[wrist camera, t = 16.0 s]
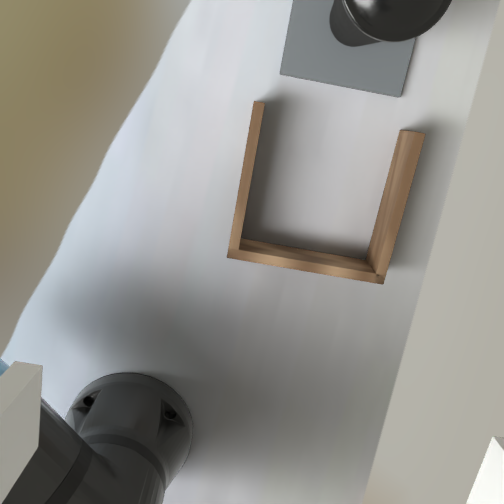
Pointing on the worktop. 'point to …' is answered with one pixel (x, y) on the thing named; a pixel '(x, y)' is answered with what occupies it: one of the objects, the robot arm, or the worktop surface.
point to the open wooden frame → (324, 262)
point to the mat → (340, 54)
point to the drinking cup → (383, 20)
